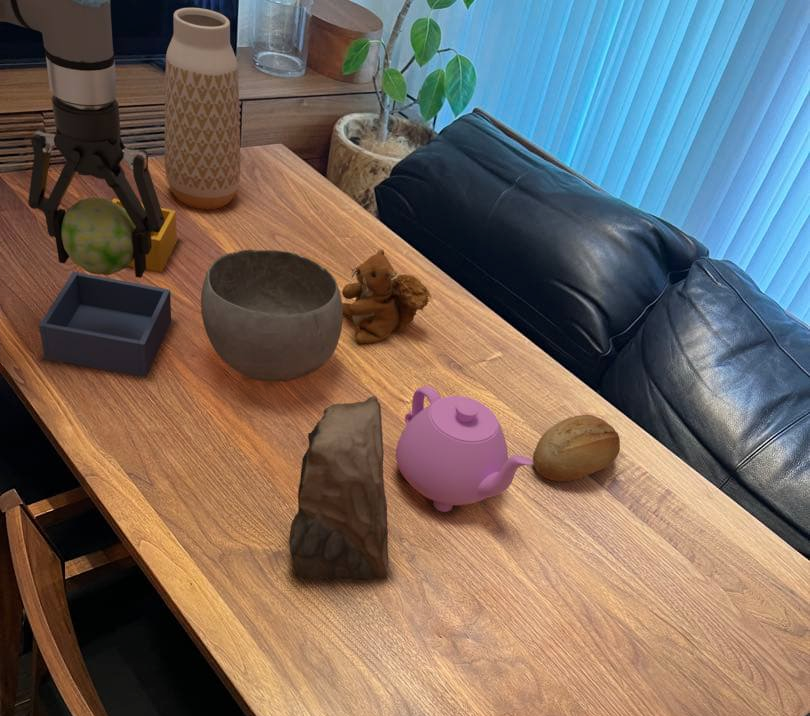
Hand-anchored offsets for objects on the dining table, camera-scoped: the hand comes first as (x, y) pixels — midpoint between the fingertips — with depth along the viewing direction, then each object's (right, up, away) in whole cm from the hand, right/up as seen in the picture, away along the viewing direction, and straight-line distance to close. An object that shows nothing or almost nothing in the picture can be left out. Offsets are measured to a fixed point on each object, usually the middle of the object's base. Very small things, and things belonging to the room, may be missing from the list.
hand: (103, 265), depth 113 cm
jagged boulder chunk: (+34, -40, -10) cm, 54 cm away
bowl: (+21, -11, +12) cm, 27 cm away
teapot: (+49, -31, +2) cm, 58 cm away
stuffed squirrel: (+38, -2, +25) cm, 45 cm away
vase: (+3, +28, +43) cm, 51 cm away
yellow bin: (-4, +12, +26) cm, 29 cm away
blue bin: (-2, -8, +9) cm, 12 cm away
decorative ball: (0, -1, +1) cm, 1 cm away
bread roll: (+68, -27, +10) cm, 74 cm away
